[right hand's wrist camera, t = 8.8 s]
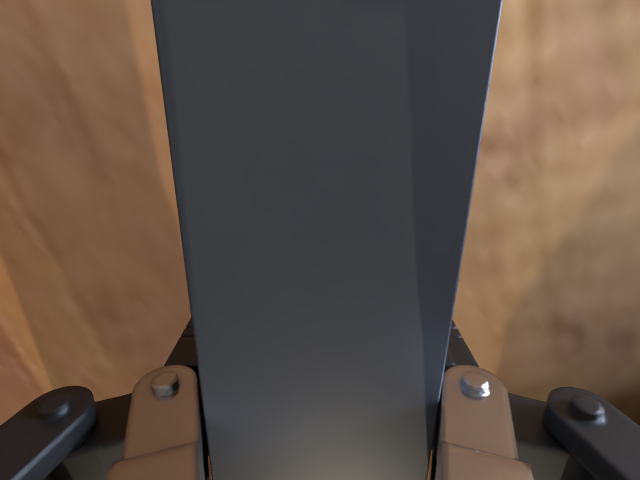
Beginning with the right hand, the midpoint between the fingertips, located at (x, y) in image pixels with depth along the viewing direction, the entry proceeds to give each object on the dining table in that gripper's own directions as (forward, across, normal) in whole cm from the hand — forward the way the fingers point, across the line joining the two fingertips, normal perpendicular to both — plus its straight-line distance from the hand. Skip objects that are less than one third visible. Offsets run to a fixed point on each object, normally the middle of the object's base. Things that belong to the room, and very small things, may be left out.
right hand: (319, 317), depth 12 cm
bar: (+4, 0, -24) cm, 25 cm away
